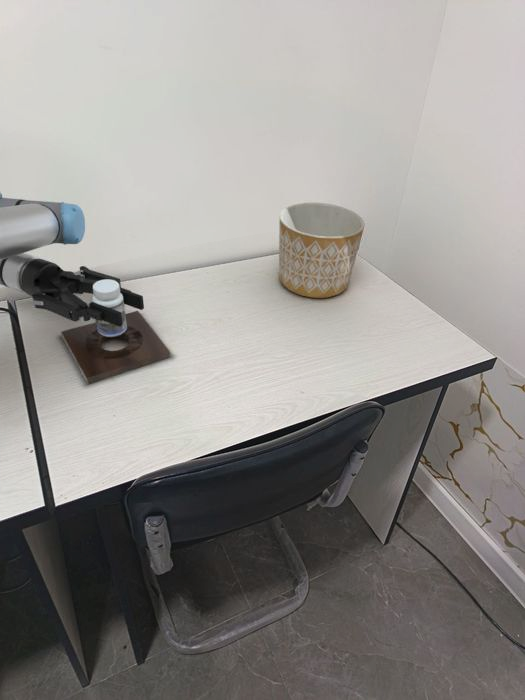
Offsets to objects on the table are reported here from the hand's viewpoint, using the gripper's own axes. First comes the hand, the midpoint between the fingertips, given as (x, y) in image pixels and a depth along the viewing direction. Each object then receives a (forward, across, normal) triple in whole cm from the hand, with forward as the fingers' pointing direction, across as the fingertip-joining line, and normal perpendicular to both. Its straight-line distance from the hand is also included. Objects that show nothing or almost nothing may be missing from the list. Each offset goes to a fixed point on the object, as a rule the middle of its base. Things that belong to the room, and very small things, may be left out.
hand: (131, 311), depth 89 cm
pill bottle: (-5, 0, -6) cm, 8 cm away
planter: (+19, -45, -11) cm, 50 cm away
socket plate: (-5, 0, -10) cm, 12 cm away
